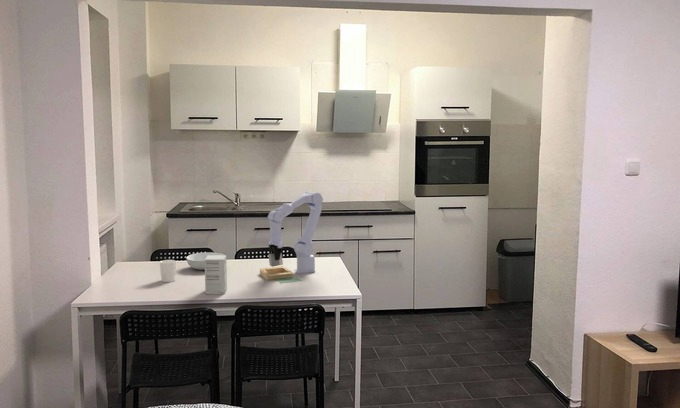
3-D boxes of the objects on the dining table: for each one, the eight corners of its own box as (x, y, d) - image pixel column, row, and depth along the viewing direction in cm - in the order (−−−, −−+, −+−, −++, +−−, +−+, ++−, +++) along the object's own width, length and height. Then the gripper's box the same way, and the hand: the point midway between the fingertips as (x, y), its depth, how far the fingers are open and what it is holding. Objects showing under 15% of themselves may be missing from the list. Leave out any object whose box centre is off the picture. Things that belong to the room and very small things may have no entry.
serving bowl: (178, 270, 309) (178, 258, 309) (201, 262, 329) (201, 251, 328) (210, 274, 302) (210, 261, 301) (232, 265, 321) (231, 254, 320)
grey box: (280, 262, 299) (279, 251, 298) (282, 264, 296) (281, 253, 295) (269, 265, 297) (268, 254, 296) (272, 266, 293) (270, 255, 292)
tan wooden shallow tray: (283, 271, 308) (283, 265, 307) (294, 278, 292) (294, 272, 292) (258, 274, 302) (258, 268, 301) (268, 281, 286) (268, 275, 286)
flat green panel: (296, 277, 295) (296, 276, 295) (302, 281, 287) (302, 280, 287) (274, 279, 290) (274, 279, 290) (280, 284, 282) (280, 283, 282)
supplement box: (208, 289, 273) (207, 255, 271) (227, 288, 274) (226, 254, 272) (205, 294, 263) (204, 259, 261) (225, 294, 264) (224, 259, 262)
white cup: (179, 279, 291) (178, 260, 290) (170, 283, 283) (169, 263, 282) (166, 278, 293) (165, 259, 292) (157, 281, 286) (156, 262, 285)
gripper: (264, 231, 299) (264, 256, 301) (272, 236, 286) (273, 262, 288) (276, 231, 302) (277, 255, 304) (285, 235, 289) (286, 261, 291)
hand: (275, 259), depth 296 cm, fingers closed on grey box, 4 cm apart
